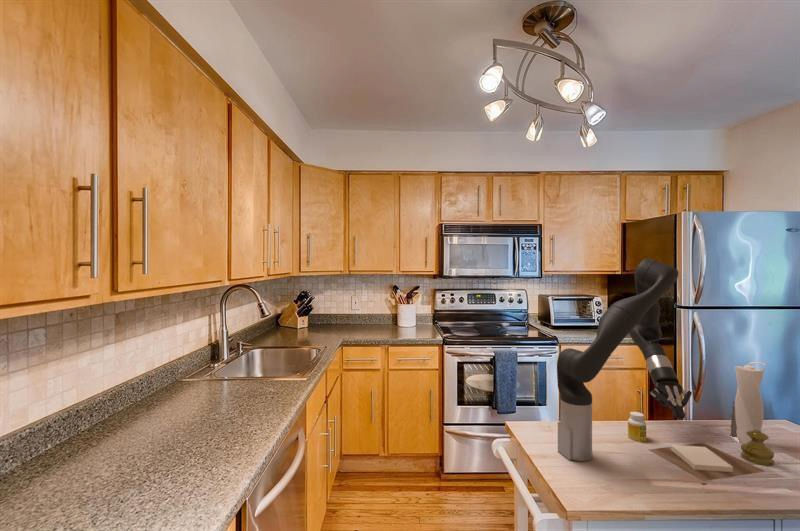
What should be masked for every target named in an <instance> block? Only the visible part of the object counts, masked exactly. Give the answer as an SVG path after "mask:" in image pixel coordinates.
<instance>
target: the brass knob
mask: <svg viewBox="0 0 800 531" xmlns="http://www.w3.org/2000/svg"><path fill="white" fill-rule="evenodd" d="M746 434H747V435H748V436H749V437H750V438H751V441H750V442H747V443H744V444H742V445H741V444H740V445H741V446H740V449H741V452H740V456H741V458H742V459H744V460H745V461H746V462H749V463H750V464H751V463H752V464H753V465H759V466H763V467H772V466H775V465H774V464H775V460H774V457H775V453H774V451H773V450H772V449H771V448H769V447H768V446H767V445H766V444H765V443H764V442H765V441H766V440H770V439H769V438H770V436H768V434H766V433H764V432H763V431H762V430H761V431H759V430H750V431H747V432H746Z"/></svg>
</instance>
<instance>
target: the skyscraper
mask: <svg viewBox="0 0 800 531" xmlns="http://www.w3.org/2000/svg"><path fill="white" fill-rule="evenodd" d="M752 364H759V365H763V368H762V369H758V368H756V367H755V366H753V365H752ZM766 367H767V364H766V363H763V362H760V361H752V362H748V364H747V365H746V364H745V365H743V366H740V365H737V366H734V371H735V376H736V383H737V388H736V392H735V400H734V401H733V402H732V403H733V405H732V412H731V413H730V417H731V420H730V434H729V437H730V436H732V437H737V436H738V437H737V438H738V440H739V444H740V445H741V444H744V443H747V442H750V441H751V438H750V437H749V436H748V435H747V434H746V432H747V431H750V430H759V431H761V432H762V429H763V428H762V427H763V424H764V422H763V421H764V401H763V397H762V394H761V390H760V389H761V385H762V381H763V377H764V372H765V370H766Z"/></svg>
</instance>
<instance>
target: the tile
mask: <svg viewBox="0 0 800 531" xmlns="http://www.w3.org/2000/svg"><path fill="white" fill-rule="evenodd" d="M670 447H671V450H672V451H673V452H674V453H676V454H677V455H678V456H679V457H680V458H681V459H683V460H684V461H685V462H686V463H687V464H688V465H690V466H691V467H692V468H693V469H694V470H707V471H723V472H733V467H732V466H731V465H729V464H728V463H727V462H725V461H724V460H723V459H721V458H720V457H718V456H717V455H716V454H714V453H713V452H712V451H710V450H709V449H707V448H706V447H698V446H680V445H675V444H671V445H670Z"/></svg>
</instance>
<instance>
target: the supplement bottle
mask: <svg viewBox="0 0 800 531" xmlns="http://www.w3.org/2000/svg"><path fill="white" fill-rule="evenodd" d="M644 419H645V415H644V414H643V413H641V412H638V411H630V412H629V418H628V419H627V437H628V439H629V440H631V441H634V442H640V443H645V442H647V422H646V420H644Z"/></svg>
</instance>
